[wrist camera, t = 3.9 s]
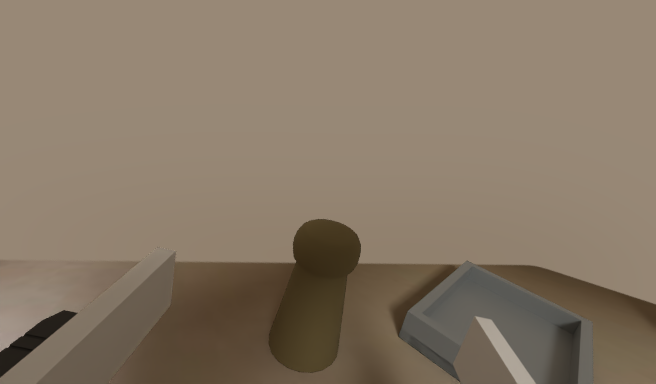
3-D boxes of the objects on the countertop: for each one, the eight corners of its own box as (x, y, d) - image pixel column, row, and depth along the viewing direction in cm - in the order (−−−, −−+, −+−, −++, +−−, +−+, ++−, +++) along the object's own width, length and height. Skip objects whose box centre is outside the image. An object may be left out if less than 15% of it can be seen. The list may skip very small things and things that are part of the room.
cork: (323, 386, 23) (360, 258, 19) (254, 350, 24) (277, 226, 21) (346, 333, 28) (377, 227, 25) (288, 307, 30) (311, 204, 26)
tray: (459, 278, 43) (467, 260, 42) (580, 343, 35) (592, 322, 34) (398, 336, 29) (407, 311, 28) (573, 464, 21) (593, 434, 20)
